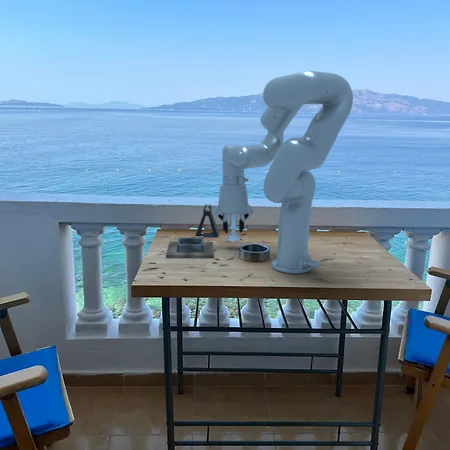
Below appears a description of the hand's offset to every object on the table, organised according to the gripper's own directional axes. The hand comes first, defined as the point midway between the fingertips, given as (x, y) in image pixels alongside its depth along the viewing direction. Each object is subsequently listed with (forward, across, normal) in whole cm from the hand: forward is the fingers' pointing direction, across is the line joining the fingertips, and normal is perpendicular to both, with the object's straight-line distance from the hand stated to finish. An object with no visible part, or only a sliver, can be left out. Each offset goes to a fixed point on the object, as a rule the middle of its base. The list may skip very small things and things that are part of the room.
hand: (233, 231), depth 163 cm
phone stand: (+6, +8, -18) cm, 21 cm away
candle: (+3, 0, 0) cm, 3 cm away
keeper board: (+6, +16, +2) cm, 17 cm away
